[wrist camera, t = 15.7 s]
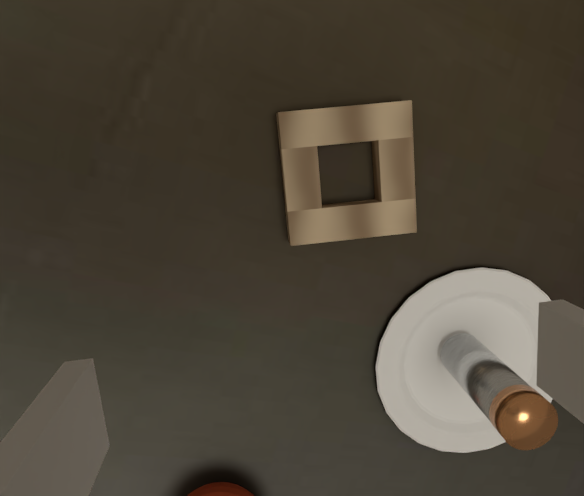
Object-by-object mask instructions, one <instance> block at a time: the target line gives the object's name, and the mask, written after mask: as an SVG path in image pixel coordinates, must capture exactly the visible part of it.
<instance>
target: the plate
mask: <svg viewBox="0 0 584 496" xmlns="http://www.w3.org/2000/svg"><path fill="white" fill-rule="evenodd" d="M547 301H551V300H550V298H549V297H548V295H547V294H545V293H544V292H543V291H542V290H541V289H539V288H538V287H537V286H536V285H535V284H533V283H532V282H531V281H530V280H528V279H526V278H523V277H521V276H519V275H516V274H514V273H512V272H509V271H507V270H500V269H492V268H484V267H478V268H471V269H464V270H457V271H453V272H451V273H448V274H446V275H444V276H441V277H439V278H436V279H434V280H432V281H429V282H428V283H427V284H425V285H424V286H423V287H421V288H420V289H419V290H417V291H416V292H415V293H413V294H412V295H411V296H409V297H408V298H407V299H406V300H405V302H404V303H403V304H402V305H401V306H400V308H399V309H398V310H397V311H396V312H395V314H394V315H393V316H392V317H391V319H390V321H389V323H388V325H387V327H386V329H385V331H384V334H383V336H382V338H381V340H380V343H379V348H378V353H377V359H376V364H375V370H376V381H377V391H378V393H379V396H380V398H381V401H382V403H383V406H384V408H385V411H386V413H387V414H388V415H389V417H390V418H391V419H392V420H393V422H394V423H395V424H396V425H397V427H398V428H399V429H400V430H401V431H402V432H403V433H405V434H406V435H408V436H409V437H411V438H412V439H413V440H415V441H416V442H418V443H419V444H422V445H425V446H428V447H431V448H434V449H436V450H439V451H446V452H459V453H467V452H473V451H479V450H485V449H490V448H492V447H495V446H497V445H499V444H502V443H504V442H506V441H505V440H504V438H503V437H502V436H501V435H500V434H499V432H498V431H497V430H496V429H495V428H494V426H493V425H492V423H491V422H490V421H489V419H488V418H487V417H486V416H485V415H484V413H483V412H482V411H481V410H480V409H479V407H478V406H477V405H476V404H475V403H474V401H473V400H472V399H471V398H470V397H469V396H468V394H467V393H466V392H465V391H464V390H463V388H462V387H461V386H460V385H459V384H458V382H457V381H456V380H455V379H454V378H453V376H452V375H451V374H450V373H449V372H448V370H447V369H446V368H445V367H444V366H443V364H442V362H441V358H440V352H441V348H442V346H443V344H444V343H445V342H446V340H448V339H449V338H450V337H452V336H454V335H456V334H460V333H466V334H470V335H472V336H474V337H475V338H477V339H478V340H479V341H480V342H481V343H482V344H483V345H484V346H486V347H487V348H488V349H489V350H490V351H491V352H492V353H494V354H495V355H496V356H497V357H498V358H499V359H500V360H501V361H503V362H504V363H505V364H506V365H507V366H508V367H509V368H510V369H512V370H513V371H514V372H515V373H516V374H517V375H518V376H519V377H521V378H522V379H523V380H524V381H525V382H526V383H527V384H528V385H530V386H531V387H532V388H534V389H535V390H536V391H537V392H538V393H540V394H541V395H542V396H543V397H544V398H545V399H546V400H548V401H549V402H550V403H551V401H552V399H553V398H551V397H550V396H549V395H548V394H546V393H545V392H544V391H543V390H542V389H540V388H539V387H538V386H537V385H536V384H537V349H538V314H539V302H547Z"/></svg>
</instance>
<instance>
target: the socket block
mask: <svg viewBox="0 0 584 496" xmlns="http://www.w3.org/2000/svg"><path fill="white" fill-rule="evenodd" d="M276 116H277V126H278V137H279V147H280V158H281V168H282V179H283V189H284V200H285V210H286V221H287V231H288V241H289V243H290V246H295V245H304V244H313V243H323V242H332V241H341V240H350V239H359V238H369V237H378V236H387V235H396V234H405V233H415V232H417V224H416V198H415V172H414V147H413V121H412V100H409V101H398V102H387V103H376V104H365V105H353V106H342V107H331V108H320V109H309V110H297V111H286V112H278V113H277V114H276ZM365 141H372V157H373V175H374V193H375V199H373V200H363V201H353V202H344V203H334V204H324V205H322V201H321V189H320V176H319V164H318V151H317V146H323V145H333V144H344V143H355V142H365Z"/></svg>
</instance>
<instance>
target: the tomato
mask: <svg viewBox="0 0 584 496" xmlns="http://www.w3.org/2000/svg"><path fill="white" fill-rule="evenodd" d="M187 496H254V495H253V494H252V493H250V492H249V491H248V490H246V489H245V488H243V487H241V486H239V485H237V484H233V483H229V482H215V483H210V484H206V485H203V486H201V487H199V488H197V489H196V490H194V491H192V492H191V493H190V494H188V495H187Z"/></svg>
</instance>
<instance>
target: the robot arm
mask: <svg viewBox="0 0 584 496" xmlns="http://www.w3.org/2000/svg"><path fill="white" fill-rule="evenodd" d="M536 385H537V386H538V387H539V388H540V389H542V390H543V391H544V392H545V393H546V394H548V395H549V396H550V397H551V398H553V399H554V400H555V401H556V402H558V403H559V404H560V405H561V406H563V407H564V408H565V409H566V410H568V411H569V412H570V413H571V414H572V415H574V416H575V417H576V418H577V419H579V420H580V421H581V422H582V423H584V310H583V309H581V308H579V307H577V306H575V305H573V304H571V303H569V302H567V301H565V300H555V301H547V302H539V314H538V349H537V384H536ZM109 446H110V445H109V440H108V435H107V429H106V424H105V419H104V414H103V409H102V403H101V398H100V393H99V388H98V383H97V377H96V372H95V367H94V362H93V358H91V359H83V360H75V361H67V362H64V363H63V364H62V365H61V367H60V368H59V369H58V370H57V372H56V373H55V374H54V375H53V377H52V378H51V379H50V381H49V382H48V383H47V384H46V386H45V387H44V388H43V389H42V391H41V392H40V393H39V394H38V396H37V397H36V398H35V399H34V401H33V402H32V403H31V405H30V406H29V407H28V408H27V410H26V411H25V412H24V413H23V415H22V416H21V417H20V418H19V420H18V421H17V422H16V423H15V425H14V426H13V427H12V428H11V430H10V431H9V432H8V434H7V435H6V436H5V437H4V439H3V440H2V441H1V442H0V496H89V493H90V491H91V489H92V486H93V484H94V481H95V479H96V477H97V474H98V472H99V470H100V467H101V465H102V463H103V460H104V458H105V455H106V453H107V451H108V448H109Z"/></svg>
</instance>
